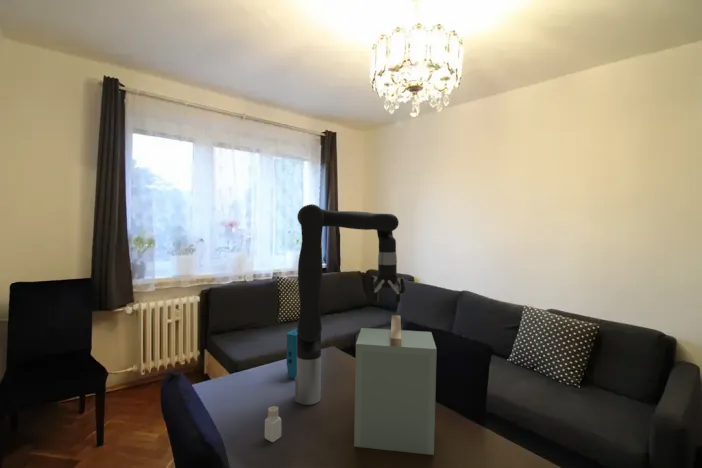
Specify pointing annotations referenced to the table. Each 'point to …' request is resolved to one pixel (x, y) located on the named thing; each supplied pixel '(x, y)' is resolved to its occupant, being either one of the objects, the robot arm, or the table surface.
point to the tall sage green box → (395, 391)
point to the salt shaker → (273, 424)
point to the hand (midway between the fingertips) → (387, 302)
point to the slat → (395, 331)
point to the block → (292, 353)
